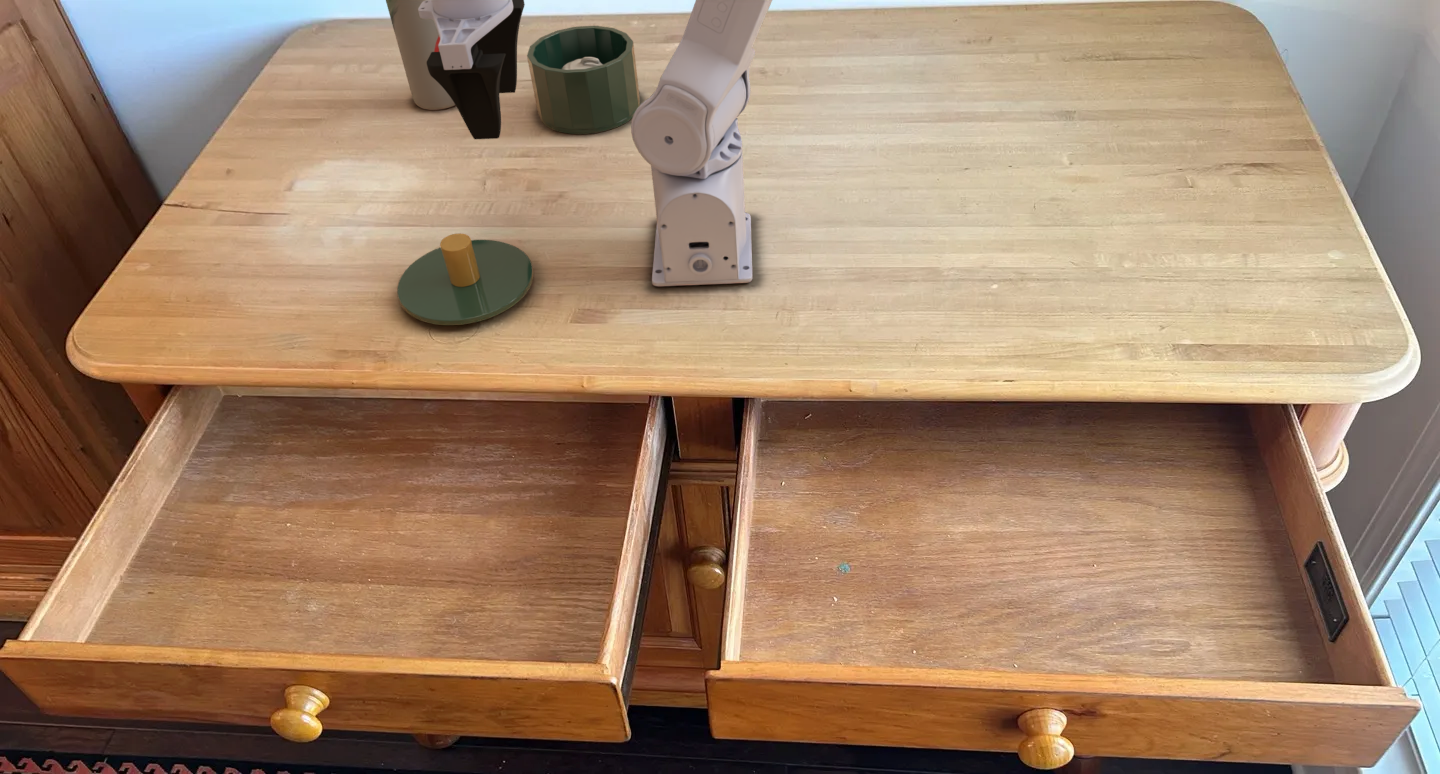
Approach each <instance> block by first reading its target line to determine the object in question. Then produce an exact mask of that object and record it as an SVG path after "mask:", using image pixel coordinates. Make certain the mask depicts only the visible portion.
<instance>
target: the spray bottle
mask: <svg viewBox="0 0 1440 774" xmlns="http://www.w3.org/2000/svg"><path fill="white" fill-rule="evenodd" d="M423 1H425V0H385V3H386V7H387V11H388V13H389V17H390V21H391V25H392V28H393V32H394V37H395V39H396V42H397V46H398V50H399V54H400V57H401V62H402V65H403V68H404V72H405V76H406V79H407V83H408V86H409V89H410V94H411V97H412V100H413V102H414V104H415V105H416V106H418V107H419V108H421V109H424V110H430V111H432V110H435V111H436V110H445V109H449V108H452V107H454V106H455V107H456V105H455V103H454V102H453V100H452V99H451V97H450V96H449V95H448V93H447V92H446V91H445V90H444V88H443V87H442V86H441V85H440V84H439V83H438V82H437V81H436V80H435V79H434V78H433V77H431V75H430V73H429V71H428V67H427V60H428V58H429V56H430V54H431V52H440V51H439V47H438V45H439V42H440V37H439V34H438V31H437V28H436V25H435V22H434V20H433V19H422V18H420V15H419V11H418V8H419V7H420V5H421V3H422V2H423Z"/></svg>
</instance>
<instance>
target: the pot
mask: <svg viewBox="0 0 1440 774" xmlns="http://www.w3.org/2000/svg"><path fill="white" fill-rule="evenodd" d="M584 57H594V58H597V59H599V62H600V63H602V64H603V65H600V66H595V67H591V68H587V69H573V70H563V69H562V68H563V66H564V65H566V64H567V63H569V62H572V61H574V60H577V59H582V58H584ZM526 58H527V63H528V69H529V74H530V79H531V85H532V90H533V95H534V101H535V106H536V111H537V114H538V118H539V119H540V122H541V123H542V124H543V125H544V126H545V127H547V128H549V129H551V130H553V131H555V132H559V133H563V134H570V135H591V134H598V133H603V132H607V131H610V130H614V129H616V128H618V127H621V126H623V125H625V124H626V123H628V122H630V121H632V118H633V115H634V113H635V111H636V110H637V108H638V107H639V106H640V105H641V103H640V97H641V96H640V89H639V81H638V80H639V78H638V71H637V63H636V53H635V45H634V40H633V39H632V38H631V37H630V36H629V34H628V33H627V32H624V31H622V30H619V29H617V28H615V27H610V26H603V25H581V26H580V25H579V26H571V27H567V28H562V29H558V30H554V31H552V32H550V33H548V34H546V35H543V36H541V37H539V38H538V39H537V40H535V41H534V42H533V43H532V44H531V45H530V46H529V48H528V51H527V54H526Z"/></svg>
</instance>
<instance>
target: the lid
mask: <svg viewBox="0 0 1440 774" xmlns="http://www.w3.org/2000/svg"><path fill="white" fill-rule="evenodd" d="M534 276H535V275H534V266H533V264H532V261H531V259H530V257H529V256H528V255H527V254H526V253H525V252H524V251H523V250H521V249H520V248H519V247H517V246H515V245H513V244H510V243H508V242H504V241H499V240H494V239H472V238H471V237H470V236H469V235H468V234H466V233H461V232H460V233H452V234H449V235H447V236H445V237H444V238H442V240H441V241H440V244H439V247H438V248H434V249H433V250H430V251H429V252H426V253H425V254H423V255H422V256H420V257H419V258H417V259H416V260H415V261H413V262H412V263H411V264H410V265H409V266H408V267H406V269H405V270H404V271H403V273H402V274H401V276H400V278H399V280H398V284H397V291H396V293H397V298H398V302H399V304H400V307H402V309H403V310H404V311H405V312H406V313H407V314H408V315H410V316H411V317H412V318H414V319H417V320H419V321H422V322H424V323H427V324H433V325H439V326H462V325H467V324H473V323H477V322H482V321H485V320H488V319H491V318H494V317H496V316H498V315H500V314H503V313H504V312H506V311H507V310H509V309H511V308H512V307H514V306H515V305H517V304H518V303H519V302H520V301H521V300H522V299H523V298H524V297H525V296H526V295H527V293H528V292H529V290H530V288H531V287H532V284H533V281H534Z"/></svg>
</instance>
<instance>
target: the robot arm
mask: <svg viewBox="0 0 1440 774" xmlns="http://www.w3.org/2000/svg"><path fill="white" fill-rule="evenodd" d="M772 3H773V0H695V2H694V5H693V7H692V10H691V13H690V16H689V17H688V21H687V24H686V27H685V29H684V33H683V35H682V37H681V40H680V42H679V43H678V45H677V47H676V48H675V51H674V52H673V54H672V56H671V58H670V60H669V61H668V63H667V65H666V66H665V69H664V70H663V72H662V74H661V77H660V78H659V81H658V84H657V87H656V89H655V90H654V92H653V93H652V94H650V96H649V97H648V98H646V99H645V100H644V101H643V102H641V103H640V106H639V107H638V108H637V110H636V111H635V113H634V115H633V118H632V119H631V123H630V133H631V137H632V141H633V144H634V146H635V148H636V150H637V151H638V153H639V154H640V156H641V157H642V158H643V159H644V161H646V163H648V164H649V165H650V169H651V170H650V171H651V180H652V187H653V196H654V206H655V215H656V227H655V239H654V252H653V264H652V273H651V284H652V285H653V286H654V287H677V286H700V285H702V286H703V285H727V284H746V283H747V284H748V283H751V282H752V281H753V251H752V250H753V248H752V247H753V246H752V216H751V214H750V213H748V212H746V201H745V200H746V199H745V197H746V195H745V179H744V178H745V177H744V157H743V156H744V155H743V140H742V136H741V131H740V129H739V121H738V117H739V116H740V115H741V114H742V113H743V112H744V110H745V109H746V108H747V106H748V104H749V102H750V98H751V81H750V70H751V66H752V63H753V60H754V58H755V56H756V50H755V48H754V45H755V43H756V40H757V38H758V35H759V34H760V30H761V28H762V25H764V24H763V23H764V21H765V19H766V16H767V14H768V12H769V10H770V7H771V4H772ZM525 5H526V4H525V0H425V1H423V2H422V3H421V5H420V7H419V8H418V11H419V15H420V18H422V19H433V20H434V22H435V25H436V28H437V31H438V34H439V37H440V42H439V45H438V47H439V51H440V52H431V54H430V56H429V58H428V60H427V67H428V71H429V73H430V75H431V77H433V78H434V79H435V80H436V81H437V82H438V83H439V84H440V85H441V86H442V87H443V88H444V90H445V91H446V92H447V93H448V95H449V96H450V97H451V99H452V100H453V102H454V103H455V107H456V109H457V110H458V112H459V114H460V116H461V119H462V120H463V122H464V124H465V126H466V128H467V130H468V131H469V133H470V135H471V136H472V138H473V139H474V140H494V139H499V138H500V137H501V131H502V114H501V113H502V112H501V101H500V100H501V99H500V98H501V97H500V94H510V93H511V94H513V93H516V89H517V84H518V83H517V82H518V39H519V29H520V24H521V19H522V15H523V12H524V9H525Z"/></svg>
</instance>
